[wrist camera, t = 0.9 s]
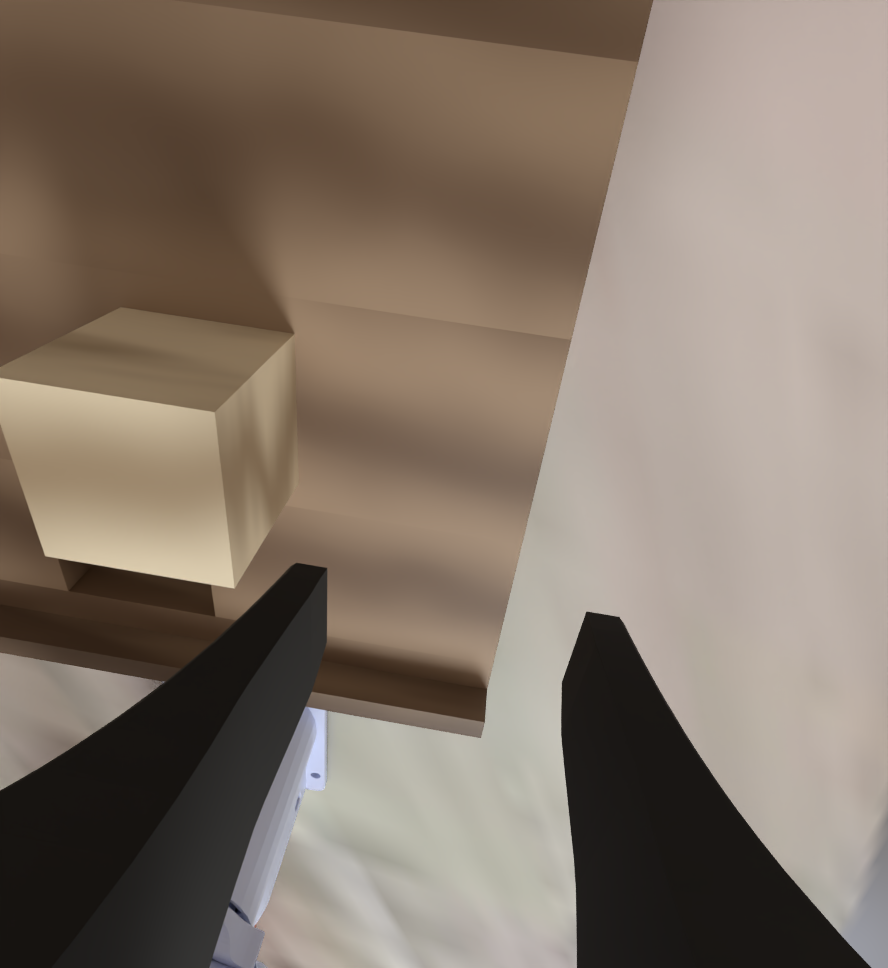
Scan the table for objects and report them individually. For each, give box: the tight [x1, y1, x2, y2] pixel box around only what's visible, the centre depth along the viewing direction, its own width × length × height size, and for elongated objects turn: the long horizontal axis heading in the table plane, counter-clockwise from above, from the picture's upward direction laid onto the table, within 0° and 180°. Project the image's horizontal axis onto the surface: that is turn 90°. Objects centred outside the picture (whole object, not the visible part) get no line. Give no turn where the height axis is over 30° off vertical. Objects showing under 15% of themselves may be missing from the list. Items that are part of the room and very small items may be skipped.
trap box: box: [0, 0, 653, 738], centre depth 18 cm, size 24×32×4 cm
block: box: [0, 307, 299, 589], centre depth 16 cm, size 5×5×5 cm
